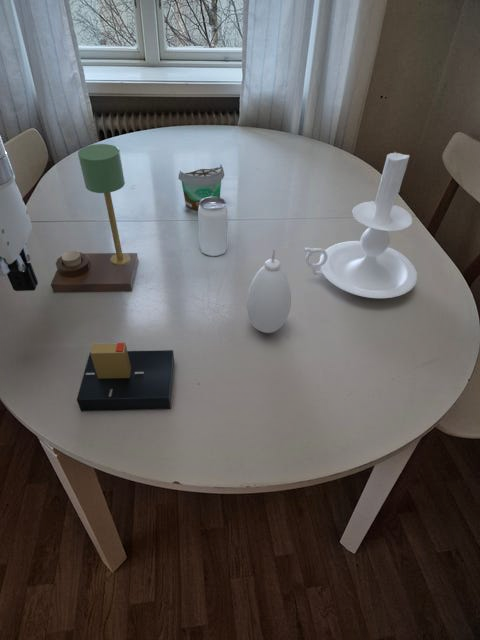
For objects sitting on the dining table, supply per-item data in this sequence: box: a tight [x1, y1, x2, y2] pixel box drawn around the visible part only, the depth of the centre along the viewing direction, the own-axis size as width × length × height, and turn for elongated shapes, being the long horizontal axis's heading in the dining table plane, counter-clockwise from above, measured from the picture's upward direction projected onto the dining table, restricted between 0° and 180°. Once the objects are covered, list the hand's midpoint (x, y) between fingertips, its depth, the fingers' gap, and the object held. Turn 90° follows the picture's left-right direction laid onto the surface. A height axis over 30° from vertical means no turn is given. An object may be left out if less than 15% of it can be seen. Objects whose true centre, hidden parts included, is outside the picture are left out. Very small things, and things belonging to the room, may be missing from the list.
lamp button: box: [61, 250, 82, 267], centre depth 89 cm, size 4×4×2 cm
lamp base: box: [50, 251, 139, 293], centre depth 91 cm, size 16×11×4 cm
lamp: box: [77, 143, 130, 266], centre depth 82 cm, size 7×7×23 cm
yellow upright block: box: [89, 342, 131, 379], centre depth 67 cm, size 5×2×6 cm, turn 93°
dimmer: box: [76, 349, 175, 412], centre depth 70 cm, size 14×10×3 cm
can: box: [197, 197, 228, 257], centre depth 97 cm, size 6×6×12 cm
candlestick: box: [304, 151, 418, 299], centre depth 85 cm, size 21×25×28 cm
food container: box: [178, 163, 225, 212], centre depth 112 cm, size 12×6×10 cm, turn 114°
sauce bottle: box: [246, 249, 292, 334], centre depth 76 cm, size 8×8×18 cm
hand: (26, 287), depth 65 cm, fingers closed
